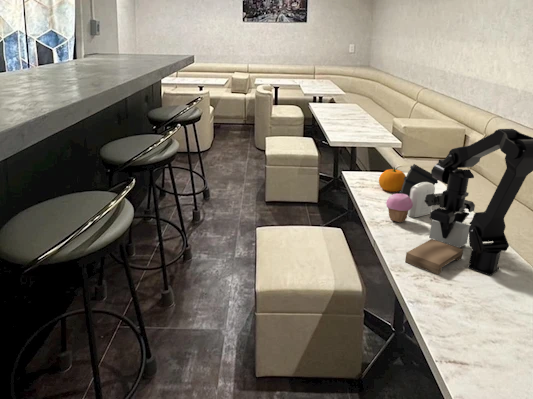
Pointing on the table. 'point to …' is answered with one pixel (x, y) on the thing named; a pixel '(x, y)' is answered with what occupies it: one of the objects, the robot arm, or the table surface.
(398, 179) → the fruit
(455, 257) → the walnut stand
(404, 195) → the cupcake
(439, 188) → the table surface
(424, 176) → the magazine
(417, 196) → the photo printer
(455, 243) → the block
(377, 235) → the table surface
